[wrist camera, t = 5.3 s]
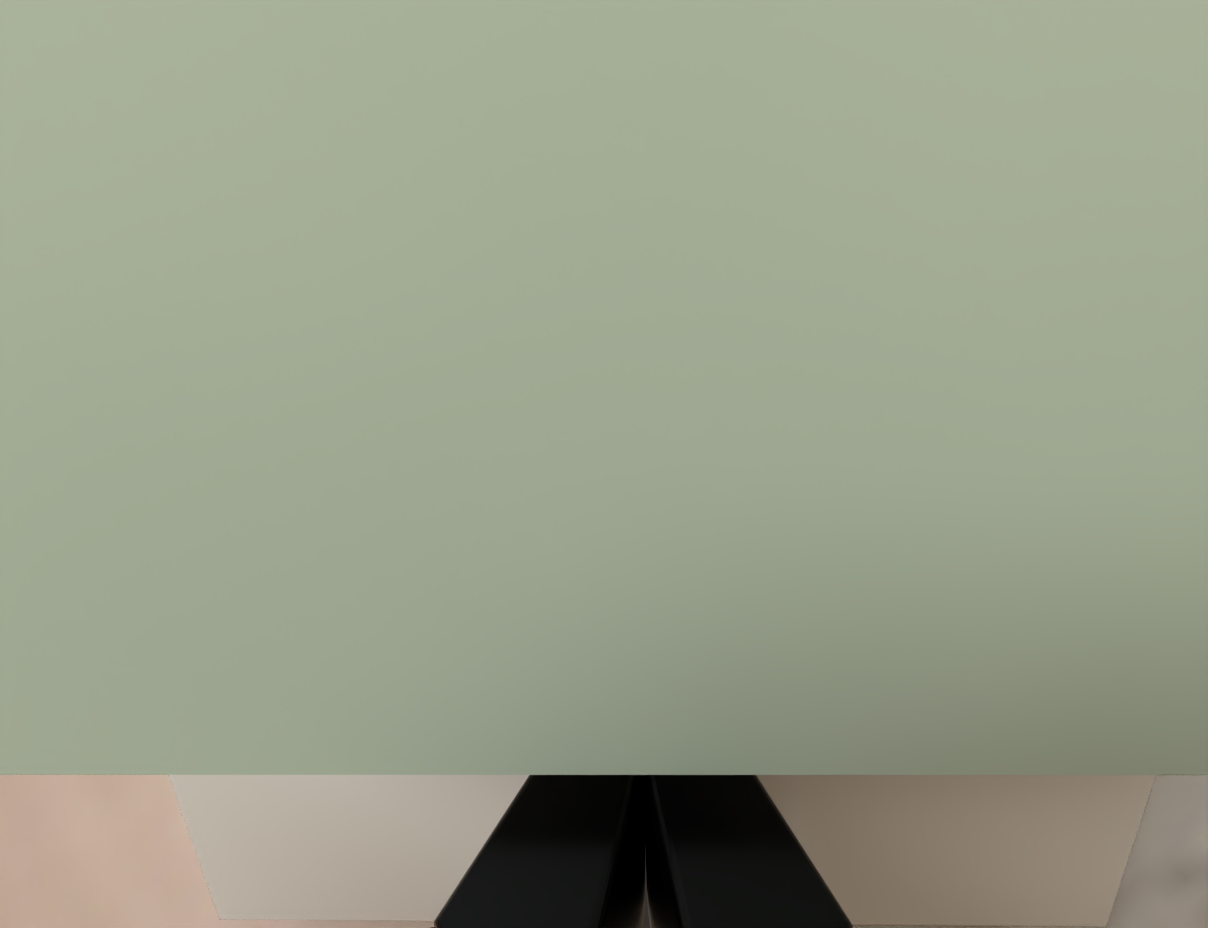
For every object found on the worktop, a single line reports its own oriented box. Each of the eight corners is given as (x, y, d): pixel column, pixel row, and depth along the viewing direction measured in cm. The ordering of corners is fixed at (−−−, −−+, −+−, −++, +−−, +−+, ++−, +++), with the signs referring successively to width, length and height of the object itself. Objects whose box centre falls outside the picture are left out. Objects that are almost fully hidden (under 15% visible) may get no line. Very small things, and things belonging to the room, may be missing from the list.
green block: (1092, 464, 11) (1359, 774, 7) (211, 478, 11) (-28, 775, 7) (1246, -186, 8) (1878, -319, 4) (47, -129, 8) (-503, -190, 4)
